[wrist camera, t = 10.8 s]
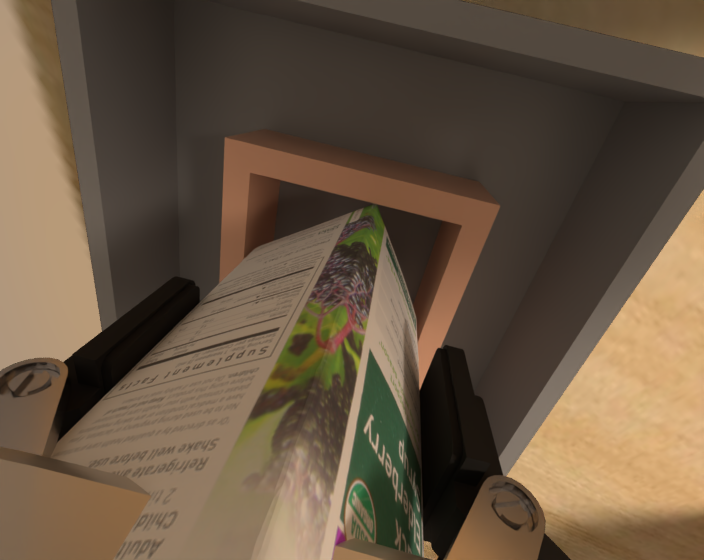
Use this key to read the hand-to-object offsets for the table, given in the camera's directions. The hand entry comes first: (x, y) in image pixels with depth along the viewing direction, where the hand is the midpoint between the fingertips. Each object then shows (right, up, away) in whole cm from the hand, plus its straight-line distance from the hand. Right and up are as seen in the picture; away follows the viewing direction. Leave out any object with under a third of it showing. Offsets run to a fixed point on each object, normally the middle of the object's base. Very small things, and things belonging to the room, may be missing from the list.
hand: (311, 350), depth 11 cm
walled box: (+1, +4, +8) cm, 9 cm away
